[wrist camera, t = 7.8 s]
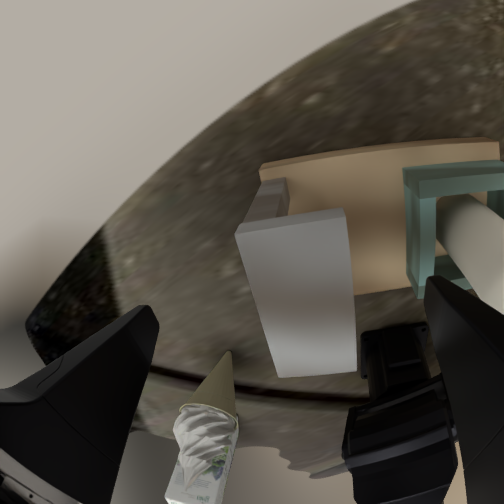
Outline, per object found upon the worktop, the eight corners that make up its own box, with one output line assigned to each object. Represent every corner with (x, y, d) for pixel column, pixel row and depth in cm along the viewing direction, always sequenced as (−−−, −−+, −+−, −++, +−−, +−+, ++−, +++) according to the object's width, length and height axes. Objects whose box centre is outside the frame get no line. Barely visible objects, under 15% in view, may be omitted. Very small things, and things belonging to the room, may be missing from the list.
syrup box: (201, 424, 38) (173, 508, 26) (195, 404, 35) (162, 499, 23) (239, 431, 37) (218, 519, 25) (238, 412, 35) (213, 513, 22)
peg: (476, 240, 17) (533, 308, 10) (430, 248, 18) (478, 325, 11) (478, 187, 15) (550, 240, 8) (429, 193, 16) (494, 253, 9)
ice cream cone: (196, 350, 29) (144, 480, 17) (221, 326, 27) (167, 476, 14) (235, 374, 30) (200, 502, 17) (264, 352, 28) (233, 500, 15)
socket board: (480, 258, 19) (534, 334, 11) (292, 287, 24) (281, 385, 16) (484, 136, 15) (572, 174, 7) (262, 163, 19) (229, 217, 11)
